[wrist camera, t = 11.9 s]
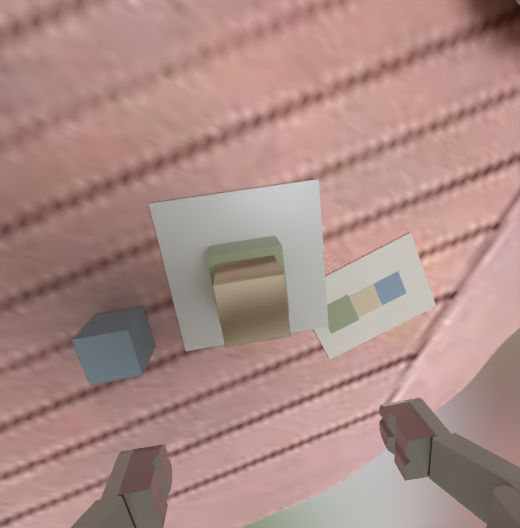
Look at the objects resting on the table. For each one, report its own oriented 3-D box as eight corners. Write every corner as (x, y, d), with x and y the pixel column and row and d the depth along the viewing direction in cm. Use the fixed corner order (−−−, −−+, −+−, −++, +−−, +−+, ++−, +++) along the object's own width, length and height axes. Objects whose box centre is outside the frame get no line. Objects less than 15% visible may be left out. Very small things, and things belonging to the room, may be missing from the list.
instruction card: (293, 292, 32) (294, 293, 32) (409, 232, 31) (411, 232, 31) (329, 358, 35) (329, 359, 35) (435, 305, 34) (436, 306, 34)
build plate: (152, 202, 28) (134, 209, 23) (315, 178, 29) (332, 180, 24) (187, 345, 33) (179, 375, 28) (325, 321, 34) (341, 347, 29)
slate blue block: (96, 313, 31) (71, 339, 26) (143, 305, 31) (127, 329, 26) (110, 353, 32) (89, 384, 27) (155, 345, 32) (142, 375, 28)
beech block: (216, 264, 25) (213, 285, 20) (273, 255, 25) (283, 274, 20) (226, 315, 26) (225, 347, 22) (280, 306, 27) (290, 335, 22)
